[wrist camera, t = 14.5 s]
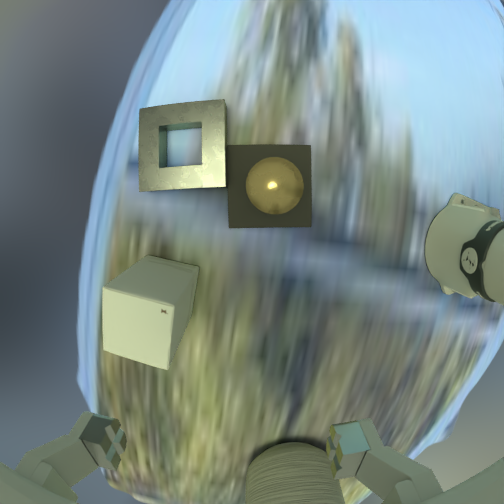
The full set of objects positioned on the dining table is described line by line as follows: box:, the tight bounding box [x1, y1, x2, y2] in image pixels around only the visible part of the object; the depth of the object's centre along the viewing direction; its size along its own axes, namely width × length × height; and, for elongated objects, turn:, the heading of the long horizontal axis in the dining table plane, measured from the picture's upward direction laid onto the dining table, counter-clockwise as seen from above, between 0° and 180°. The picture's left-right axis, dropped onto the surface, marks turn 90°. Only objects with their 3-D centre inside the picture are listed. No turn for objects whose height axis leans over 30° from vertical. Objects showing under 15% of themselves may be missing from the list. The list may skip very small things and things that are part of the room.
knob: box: [246, 157, 304, 214], centre depth 34 cm, size 6×6×11 cm
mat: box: [227, 145, 312, 228], centre depth 40 cm, size 12×12×1 cm
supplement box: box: [103, 255, 199, 370], centre depth 36 cm, size 9×9×15 cm
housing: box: [139, 99, 228, 192], centre depth 37 cm, size 12×12×4 cm
